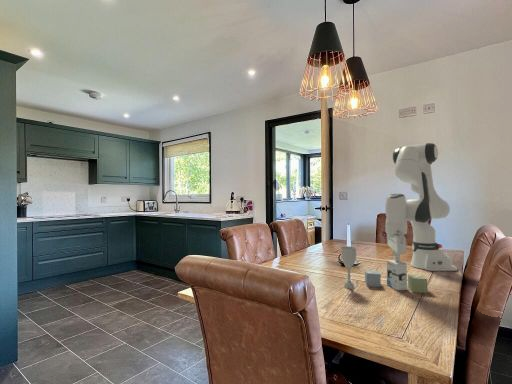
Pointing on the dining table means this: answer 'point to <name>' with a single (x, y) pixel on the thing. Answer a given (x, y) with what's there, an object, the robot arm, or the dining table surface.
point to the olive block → (417, 283)
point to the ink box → (397, 274)
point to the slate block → (372, 278)
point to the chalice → (348, 263)
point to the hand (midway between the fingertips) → (396, 259)
